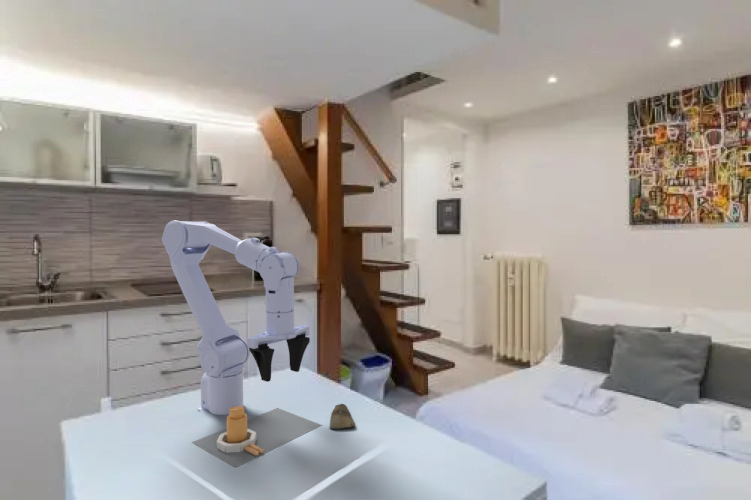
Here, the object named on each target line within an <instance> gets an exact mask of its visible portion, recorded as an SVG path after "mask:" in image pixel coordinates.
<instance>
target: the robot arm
mask: <svg viewBox="0 0 751 500" xmlns="http://www.w3.org/2000/svg"><path fill="white" fill-rule="evenodd" d="M161 236H162V237H161V242H162V245H163V246H164V249H165V251H166V252H167V255H168V256H169V261H170V266H171V269H172V271H173V274H174V276H175V278H176V281H177V283H178V285H179V287H180V290H181V292H182V294H183V296H184V298H185V301H186V302H187V304H188V307H189V310H190V311H191V314H192V316H193V319H194V320H195V322H196V324H197V327H198V330H199V331H200V333H201V335H202V337H201V338H200V340H199V342H198V344H197V346H196V350H197V353H198V355H199V364H200V367H201V370H202V371H203V372H204V373H203V375H202V376H201V380H200V407H197V408H196V409H197V412H203V411H205V410H207V411H208V412H209V413H211V414H212V415H214V416H215V415H216V416H226V415H230V408H231V407H234V406H243V407H244V371H243V369H245V367H246V366H245V363H247V362H248V360H249V358H250V355H252V357H253V359H254V361H255V363H256V365H257V368H258V371H259V375H260V380H261V381H264V382H266V383H267V382H269V383H270V382H271V379H272V361H273V358H274V357H273V356H274V354H275V353H274V352H275V349H274V348H271V347H270V346H269V345H271V344H276V343H279V342H283V341H286V343H287V347H288V353H289V355H288V357H289V368H290V369H289V370H290V371H292V372H296V373H298V372H300V369H301V364H302V360H303V357H304V354H305V352H306V349H307V347H308V346H309V344H310V342H311V338H310V337H308V336H310V326H309V325H303V324H302V325H298V326H297V325H296V326H295V288H294V287H295V286H294V285H295V282H294V281H295V276H297V275H298V272H299V269H300V264H299V260H298V258H297V257H296V256H295V255H294V254H293V253H292V252H290V251H282V252H279V251H278V248H277V247H275V246H267V245H266V244H263V243H261V239H260V238H257V237H251V238H245V239H243V240H242V239H240V238H238V237H237V236H235V235H233V234H231V233H229V232H227V231H225V230H223V229H221V228H220V227H219V226H216V224H214V223H210V222H208V221H205V220H203V221H182V220H181V221H180V220H170V221H169V222H167V224H166V225H165V227H164V230H163V234H162V235H161ZM211 246H213V247H216V248H218V249H220V250H223V251H225V252H228V253H230V254H233V255H234V258H235V259H236V262H237V263H238V264H241V265H243V266H245V267H246V268H249V269H251V270H253V271H255V272H257V273H259V274H260V277H261V278H262V280H263V287H264V289H265V331H263V332H262V333H261V332H260V333H259V334H256V335H254V336H250V337H247V341H246V340H245V339H244V338H243V337H242V336H241V335H240V333H239V330H237V329H236V328H234V327H232V326H229V325H227V322H226V320H225V318H224V316H223V314H222V312H221V310H220V307H219V306H218V304H217V301H216V299H215V297H214V294H213V292H212V291H211V288H210V286H209V284H208V282H207V280H206V278H205V275H204V273H203V272H202V269H201V267H200V263H201V261H202V260H204V257H206V254H207V253H208V251H209V250H210V248H211Z"/></svg>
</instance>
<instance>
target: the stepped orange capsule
mask: <svg viewBox="0 0 751 500" xmlns="http://www.w3.org/2000/svg"><path fill="white" fill-rule="evenodd" d="M247 420H248V414H247V413H245V406H244V405H243V406H234V407H231V408H230V414H228V415H227V416H226V428H227V443H228V444H233V443H241V442H244V441H246V440H247Z"/></svg>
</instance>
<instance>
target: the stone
mask: <svg viewBox="0 0 751 500" xmlns="http://www.w3.org/2000/svg"><path fill="white" fill-rule="evenodd" d="M329 420H330V421H329V429H331V430H333V429H334V430H341V429H342V430H343V429H350V428H353V427H356V425H355V422H354V419H353V417H352V415H351V412H350V410H349V409H348V407H347V405H346V404H344V403H339V404H336V405H334V408H333V409H332V412H331V416H330V419H329Z"/></svg>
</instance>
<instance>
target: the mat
mask: <svg viewBox="0 0 751 500" xmlns="http://www.w3.org/2000/svg"><path fill="white" fill-rule="evenodd" d="M321 426H323V425H322V424H320V423H317V422H315V421H312V420H310V419H307V418H305V417H303V416H301V415H297V414H294V413H291V412H289V411H286V410H284V409H282V408H280V407H276V408H274V409H271V410H268V411H266V412H264V413H261V414H259V415H256V416H254V417H251V418H248V419H247V440H246V441H244V442H241V443H233V444H228V443H227V427H226V428H224V429H221V430H219V431H216V432H214V433H211V434H209V435H205V436H204V437H203V436H202V438H199V439H196V440H193V441H191V444H193V445H195V446H197V447H199V448H200V449H202V450H204V451H206V452H208V453H209V454H210V455H212V456H214V457H216V458H218V459H219V460H221V461H223V462H224V463H226V464H228V465H230V466H231V467H233V468H238V467H240V466H241V465H244V464H247V463H248V462H250V461H253V460H255V459H256V458H258V457H260V456H263V455H264V454H266V453H268V452H271V451H273V450H275V449H277V448H279V447H281V446H283V445H285V444H287V443H289V442H291V441H293V440H295V439H298V438H300V437H302V436H304V435H306V434H307V433H309V432H311V431H313V430H316V429H318V428H320V427H321Z"/></svg>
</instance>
